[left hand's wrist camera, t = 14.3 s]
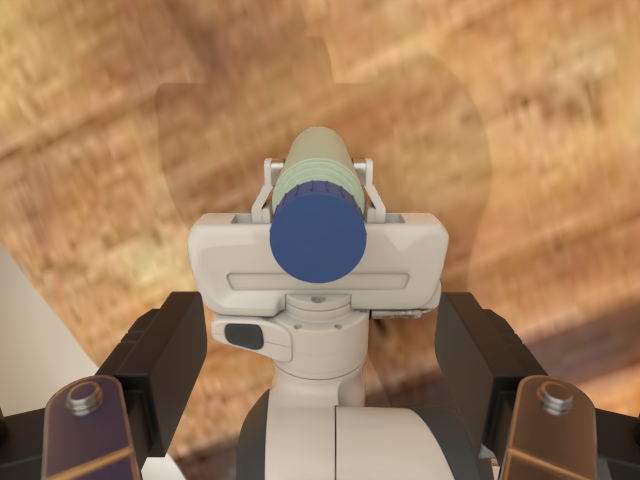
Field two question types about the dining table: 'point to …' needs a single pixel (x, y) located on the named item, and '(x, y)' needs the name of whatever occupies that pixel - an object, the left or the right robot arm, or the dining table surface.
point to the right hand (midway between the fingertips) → (317, 159)
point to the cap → (318, 232)
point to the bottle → (318, 164)
